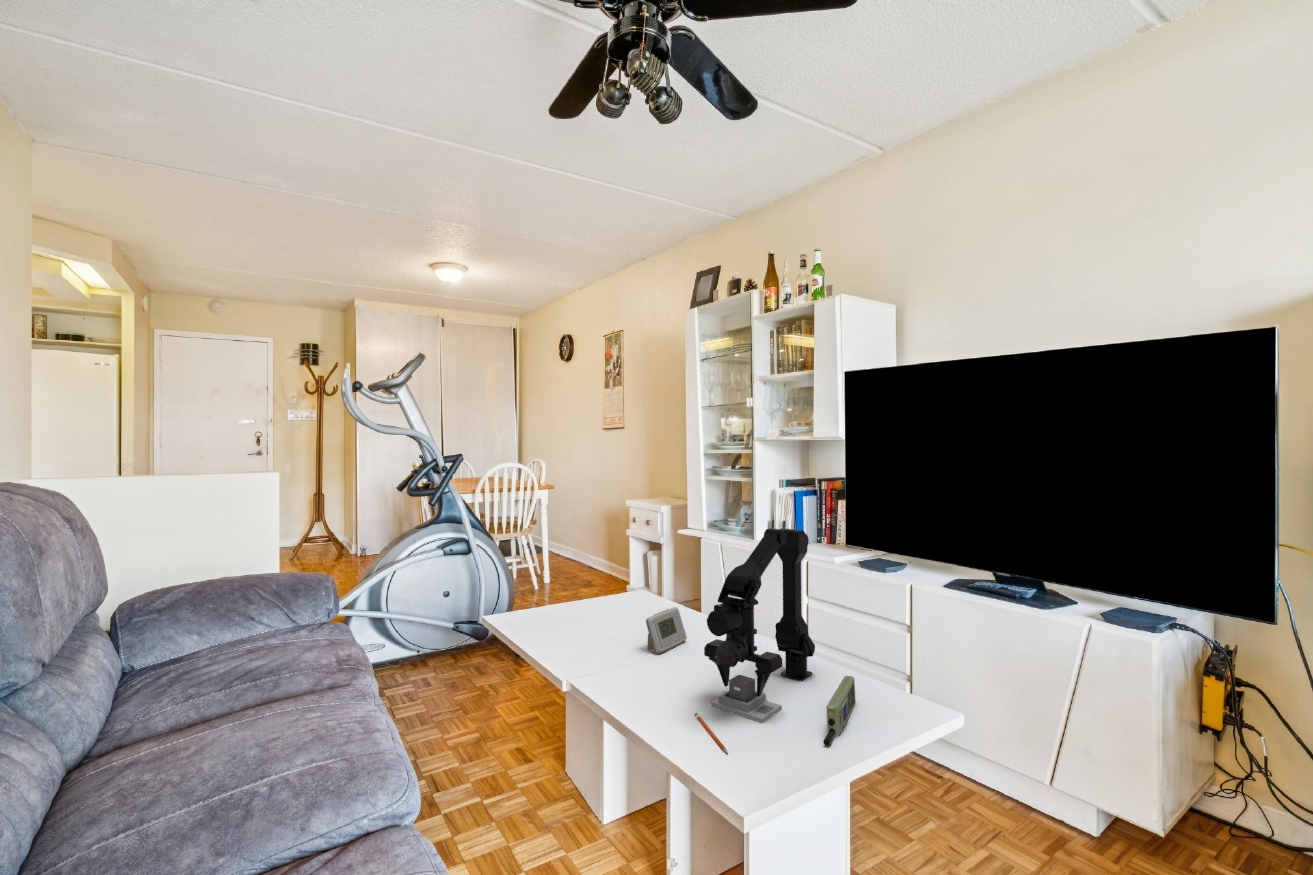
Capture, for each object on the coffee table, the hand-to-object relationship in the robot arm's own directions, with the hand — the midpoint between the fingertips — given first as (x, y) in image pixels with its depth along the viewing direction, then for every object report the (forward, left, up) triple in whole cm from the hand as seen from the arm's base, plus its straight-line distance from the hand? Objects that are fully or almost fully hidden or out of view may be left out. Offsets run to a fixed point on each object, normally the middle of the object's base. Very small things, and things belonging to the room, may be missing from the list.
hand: (742, 690), depth 145 cm
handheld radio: (-6, +21, -4) cm, 23 cm away
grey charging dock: (0, +1, -4) cm, 4 cm away
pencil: (+16, +2, -4) cm, 17 cm away
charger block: (0, 0, -3) cm, 3 cm away
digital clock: (-22, -41, -4) cm, 46 cm away
